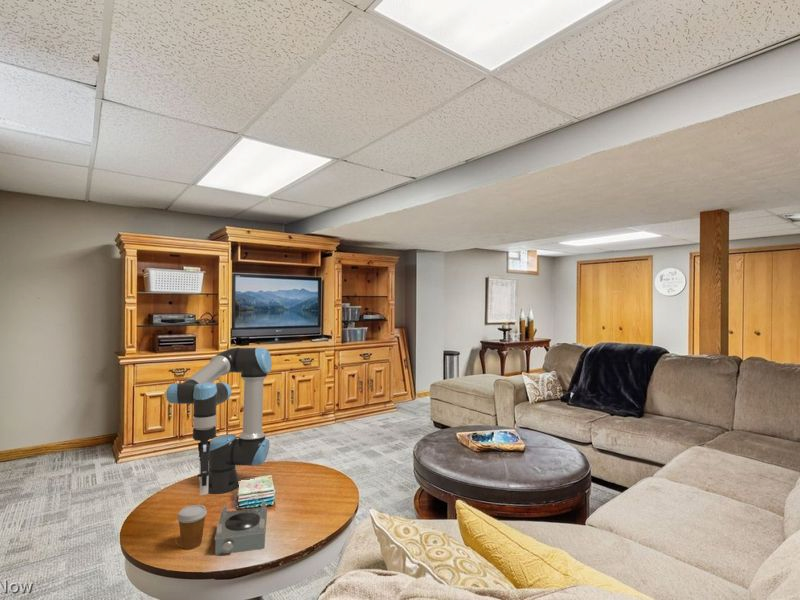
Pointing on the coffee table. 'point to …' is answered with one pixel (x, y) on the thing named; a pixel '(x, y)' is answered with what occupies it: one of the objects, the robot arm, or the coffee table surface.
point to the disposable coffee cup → (191, 525)
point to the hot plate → (241, 530)
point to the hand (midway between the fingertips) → (203, 486)
